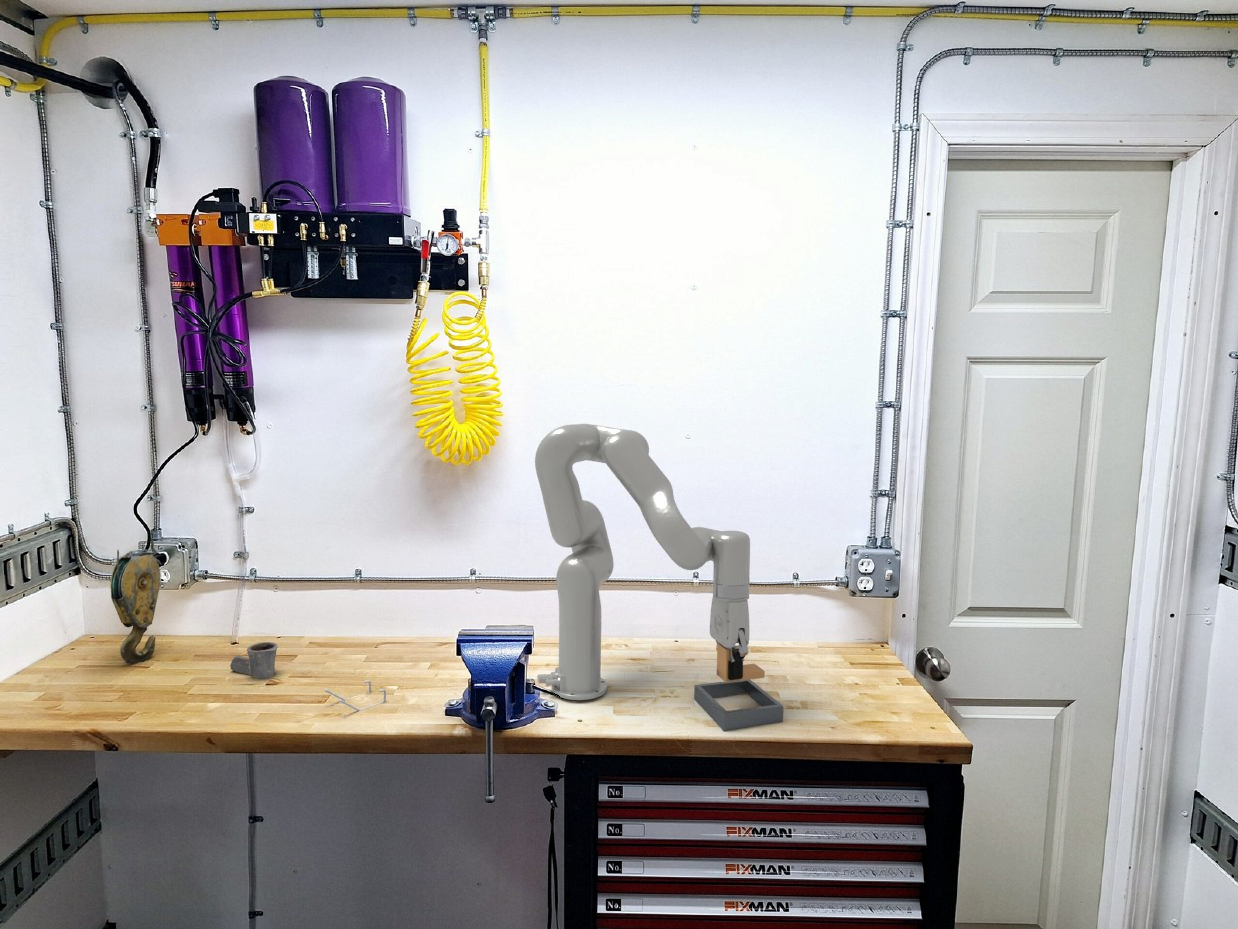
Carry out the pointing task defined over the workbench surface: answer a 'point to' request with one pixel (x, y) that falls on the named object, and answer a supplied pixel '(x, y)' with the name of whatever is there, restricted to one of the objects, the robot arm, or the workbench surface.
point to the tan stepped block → (748, 670)
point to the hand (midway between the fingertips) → (729, 673)
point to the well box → (742, 717)
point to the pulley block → (136, 599)
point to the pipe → (257, 661)
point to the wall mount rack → (356, 696)
